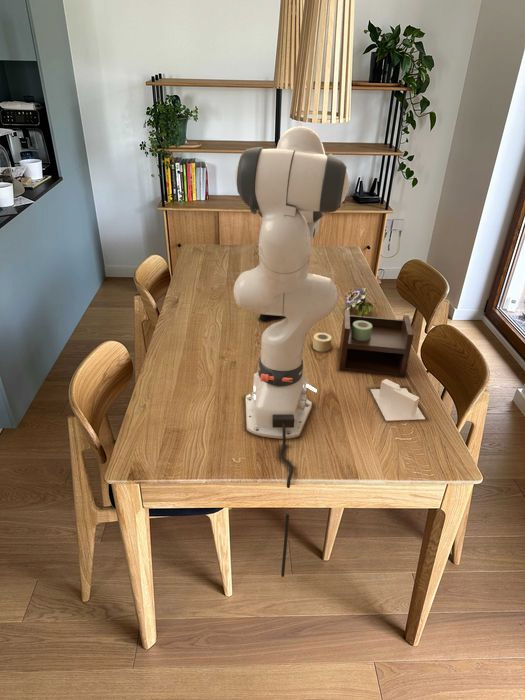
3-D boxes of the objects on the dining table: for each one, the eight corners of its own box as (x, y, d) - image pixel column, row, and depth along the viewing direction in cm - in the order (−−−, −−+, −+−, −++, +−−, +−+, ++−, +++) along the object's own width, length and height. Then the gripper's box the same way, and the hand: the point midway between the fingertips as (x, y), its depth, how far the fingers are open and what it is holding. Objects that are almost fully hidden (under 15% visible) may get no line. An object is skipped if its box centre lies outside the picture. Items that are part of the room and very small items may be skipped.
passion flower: (346, 322, 197) (340, 293, 198) (373, 317, 197) (367, 288, 198) (351, 319, 186) (345, 288, 187) (380, 313, 186) (373, 282, 187)
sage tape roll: (371, 341, 153) (373, 330, 151) (351, 339, 153) (353, 328, 151) (370, 332, 158) (372, 321, 156) (351, 330, 159) (352, 319, 156)
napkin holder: (426, 419, 137) (430, 402, 134) (386, 421, 135) (389, 404, 132) (406, 387, 150) (409, 371, 147) (369, 389, 148) (372, 373, 145)
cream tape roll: (330, 352, 166) (331, 341, 164) (312, 350, 167) (313, 340, 165) (330, 343, 171) (331, 333, 169) (313, 342, 172) (314, 331, 170)
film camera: (285, 306, 196) (287, 284, 192) (297, 316, 189) (299, 294, 184) (250, 312, 190) (251, 290, 186) (261, 323, 183) (262, 300, 178)
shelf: (404, 377, 155) (413, 334, 147) (339, 370, 157) (344, 328, 149) (400, 355, 166) (408, 314, 159) (339, 349, 168) (344, 309, 161)
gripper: (296, 215, 157) (293, 257, 163) (290, 234, 139) (287, 280, 146) (316, 216, 156) (313, 259, 163) (312, 235, 138) (308, 282, 145)
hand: (300, 269), depth 154 cm, fingers open, 8 cm apart
